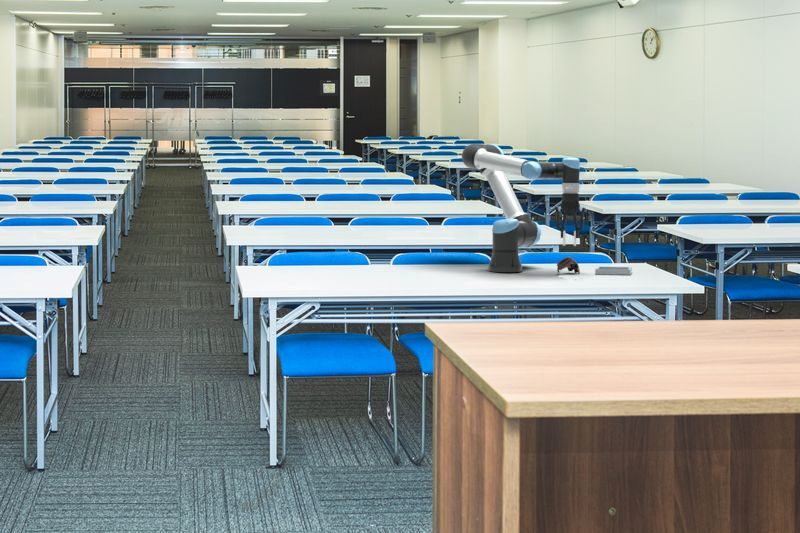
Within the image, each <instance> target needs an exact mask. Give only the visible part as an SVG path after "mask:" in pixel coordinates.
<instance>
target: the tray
mask: <svg viewBox="0 0 800 533" xmlns="http://www.w3.org/2000/svg"><path fill="white" fill-rule="evenodd" d="M632 270H633V266H632V267H631V266H597V267H596V268H595V269H594V272H595V273H594V275H597V276H631V275H632V273H633V271H632Z"/></svg>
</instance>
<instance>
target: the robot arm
mask: <svg viewBox="0 0 800 533" xmlns="http://www.w3.org/2000/svg"><path fill="white" fill-rule="evenodd" d="M461 159H462V163H463V164H464V166H466V167H467V168H469V169H471V170H472V169H474V170H479V173H480V176H481V177H482V178H486V180H487V182H488V184H489V186H490V188H491V190H492V192H493V194H494V196H495V198H496V201H497V202H498V204H499V207H500V209H501V211H502V213H503V215H504V217H505V219H497V220H495V221H494V222H493V223H492V254H491V258H490V261H489V264H488V272H491V273H493V272H494V273H520V272H521V273H522V272H523V265H522V261H521V259H520V256H519V248H529V247H533V246H535V245H536V244H537V243H539V241H540V238H541V236H542V230H541V226H540V225H539V223H537V222H536V221H533V220H532V219H531V217H530V214H529V213H527V212H524V210H523V207H522V206H521V204H520V202H519V200H518V198H517V195H516V194H515V191H514V190H513V188H512V185H511V183H510V181H509V179H508V178H507V175H506V174H510V175H516V176H521V177H524V178H525V179H528V180H548V181H549V180H561V181H562V182H561V185H562V186H561V192H562V194H561V204H560V205H559V206H556V207H554V209H555V212H556V213H555V214H556V229H557V230H559V231H560V239H562V246H566V230H565V227H566V222H567V217H568V215H569V214H571V215H572V217H573V224H574V227H575V228H574V229H575V230H574V231H573V246H574V247H576V246H577V239H579V236H580V232H579V231H582V230H584V218H585V211H586V207H583V206H581V205H580V193H579V192H580V173H581V172H580V171H581V170H580V169H581V167H580V166H581V165H580V162H581V161H580V158H578V157H564V158H562V161H561V162H548V161H547V162H544V161H541V162H540V161H533V160H527V159H524V158H518V157H514V156H510V155H505V154H504V152H503V150H502V148H501V147H499V146H498V145H495V144H490V143H487V144H482V143H472V144H471V143H470V144H468V145H467V146H465V147H464V149H463V151H462V154H461ZM561 209H562V211H563V212H564V213H563V218H562V222H561V217H560V216H561V212H560V211H561ZM578 210H579V211H580V215H579V216H580V220H579V222H578V217H577V212H578Z"/></svg>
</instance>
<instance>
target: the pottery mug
mask: <svg viewBox="0 0 800 533" xmlns="http://www.w3.org/2000/svg"><path fill="white" fill-rule="evenodd" d="M556 267H557V268H556V269H557V270H556V271H557V274H560V271H561V270H564V269H566V268H567V270H568V272H573V273H574V274H577V273H578V274H580V273H581V271H580V266H579V264H578V262H577V261H576V260H575V259H572V257H571V256H568V257H565V258H562V259H561V260H560V261H558V262H557V264H556Z"/></svg>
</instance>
